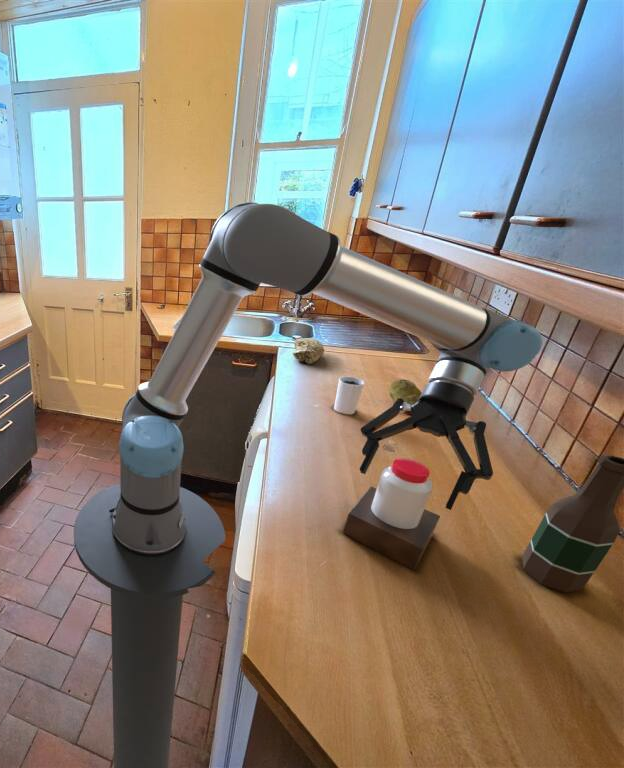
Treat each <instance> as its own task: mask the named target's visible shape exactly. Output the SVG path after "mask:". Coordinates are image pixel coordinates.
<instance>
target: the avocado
mask: <svg viewBox="0 0 624 768" xmlns="http://www.w3.org/2000/svg"><path fill="white" fill-rule="evenodd" d="M422 392H423V391H422V390H420V389H419V388H418V387H417V385H416V384H415V383H414V382H413V381H411V380H409V379H397V380H394V381H393V382H392V383H391V384H390V387H389V396H390V398H391V399H392V401H393V404H394V403H395V401H396V400H397V399H398V398H402V399H403V400H404V402H406V403H409V404H411V405H414V404H416V403H417V402H418V400H419V398H420V396H421V394H422ZM404 413H406V414H410V415H412V414H411V411H405V412H404Z"/></svg>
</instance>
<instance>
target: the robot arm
mask: <svg viewBox="0 0 624 768" xmlns="http://www.w3.org/2000/svg"><path fill="white" fill-rule="evenodd" d="M209 236H210V237H209V245H208V246H207V248H206V251H205V253H204V254H203V256H202V259H201V261H200V263H199V265H198V267H199V271H200V274H201V278H200V281H199V283H198V285H197V287H196V289H195V290H194V293H193V295H192V296H191V299H190V301H189V302H188V305H187V307H186V308H185V311H184V313H183V315H182V317H181V318H180V320H179V323H178V324H177V326H176V328H175V330H174V332H173V334H172V336H171V338H170V340H169V342H168V343H167V345H166V348H165V349H164V352H163V354H162V356H161V358H160V360H159V361H158V364H157V366H156V368H155V370H154V371H153V374H152V375H151V377H150V380H149V381H145V382H142V383H140V385H138V388H137V390H136V391H135V393H134V394H133V395H131V396H130V397H129V399H128V400H127V401H126V402H125V403H126V404H125V405H124V407H123V409H122V415H121V424H122V427H121V433H120V438H119V441H118V442H119V443H118V450H119V455H120V457H119V459H120V460H119V464H120V467H119V468H120V469H119V470H120V474H119V475H120V480H119V481H120V483H119V484H120V489H121V496H120V498H119V501H118V503H117V506H116V507H115V508H113V509H110V510H109V511H110V513H112V512H114V513H113V517H112V532H113V535H114V538H115V539H116V541H117V542H118V543H119V544H120V545H121V546H122V547H123V548H125V549H126V550H128V551H130V552H132V553H134V554H137V555H141V556H150V557H153V556H161V555H165V554H168V553H170V552H172V551H174V550H175V549H177V548H178V547H179V546H180V545H181V544H182V542H183V541H184V538H185V535H186V520H185V515H184V512H182V507H181V504H180V501H179V493H180V487H181V477H182V464H183V463H182V462H183V456H184V453H185V451H184V449H185V446H184V440H183V434H182V432H181V430H180V426H181V424H182V422H183V420H184V418H185V416H186V415H187V413H188V412H189V405H188V404H187V401H186V400H187V398H188V397H189V394H191V391H192V389H193V388H194V385H195V384H196V382H197V381H198V379H199V377H200V375H201V374H202V372H203V370H204V368H205V366H206V364H207V363H208V362H209V360H210V358H211V355H212V354H213V352H214V351H215V349H216V347H217V345H218V343H219V341H220V340H221V338H222V336H223V334H224V332H225V331H226V329H227V327H228V325H229V324H230V322H231V320H232V318H233V316H234V314H235V313H236V311H237V309H238V308H239V306H240V304H241V302H242V300H243V299H244V298H245V297H246V296H250V295H253V294H255V293H257V290H259V287H260V286H261V284H265V285H268V286H271V287H275V288H279V289H282V290H285V291H288V292H290V293H292V294H295V295H297V296H300V297H306V296H308V295H311V294H313V295H316V296H318V297H321V298H323V299H326V300H328V301H330V302H333V303H335V304H337V305H340V306H343V307H345V308H348V309H349V310H352V311H354V312H357V313H359V314H361V315H364V316H366V317H369V318H371V319H374V320H375V321H379V322H381V323H383V324H386V325H389V326H391V327H393V328H396V329H398V330H400V331H403V332H406V333H408V334H411V335H413V336H415V337H417V338H420V339H423V340H424V341H427V342H428V343H430V344H431V345H432V346H433V347H434V348H435V349H437V351H438V352H440V354H439V357H438V359H437V361H436V363H435V365H434V367H433V369H432V371H431V373H430V375H429V377H428V380H427V383H426V384H425V385H424V388H423V390H422V391H421V392H422V394H421V396H420V398H419V400H418V402H417V403H416V404H414V405H411V404H409V403H406V402H404V400H403V399H402V398H398V399H397V400H396V401H395V403H394V402H393V404H392V405H391V406H390V407H389V408H387V410H385V411H383V412H382V413H380V414H379V415H377V416H376V417H375V418H373V419H372V420H370V421H369V422H367V423H366V424H364V425H363V426H361V427H360V433H361V436H363V437H364V438H366V441H365V443H364V444H363V447H362V449H361V454H362V455H363V456H364V459H363V460H362V463H361V465H360V466H359V471H360V473H361V474H363V475H366V473H368V470H369V467H370V466H371V464H372V461H373V460H374V457H375V455H376V453H377V451H378V449H379V448H380V442H381V441H384V440H386V439H388V438H392V437H395V436H397V435H398V434H399V435H400V434H402V433H404V432H406V431H412V430H415V429H418V430H419V432H421V433H424V434H425V433H426V434H431V435H433V436H434V437H437V438H440V437H445V438H446V440H447V441H448V443H449V444H450V446H451V448H452V450H453V451H454V454H455V455H456V457H457V459H458V461H459V463H460V465H461V467H462V469H463V470H464V471H463V470H461V472H460V473H459V476H458V478H457V480H456V482H455V485H454V487H453V489H452V491H451V493H450V495H449V497H448V500H447V502H446V503H445V509H447V510H450V511H452V509H453V507H454V504H455V502H456V501H457V498H458V496H459V494H460V493H461V494H463V495H468V494H469V493H470V491H471V489H472V486H473V484H474V482H475V480H477V479H482V480H485V481H490V480H491V479H492V477H493V475H494V470H493V466H492V462H491V458H490V454H489V450H488V444H487V441H486V436H485V431H486V428H487V423H486V422H485V421H483V420H479V421H477V422H475V421H471V420H467V415H468V413H469V411H470V409H471V408H472V407H471V406H472V405H473V402H474V400H475V396H477V394H478V391H479V390H480V387H481V386H482V383H483V382H484V379H485V376H486V374H487V371H488V369H489V368H490V369H492V370H493V371H494V370H495V371H497V372H503V373H505V372H513V371H518V370H520V369H522V368H524V367H527V366H528V365H529V364H531V362H533V360H534V359H535V358H536V356H538V355H539V354H540V351H541V349H542V345H543V337H542V334H541V333H540V331H539V330H538V329H536V328H535V327H533V326H531V325H528V324H526V323H524V322H523V321H521V320H518V319H516V320H515V319H512V318H508V317H506V316H504V315H501V314H499V313H496V312H495V311H492V310H489V309H487V308H485V307H481V305H479V304H476V303H473V302H471V301H470V300H469V301H468V300H466V299H465V298H463V297H460V296H457V295H455V294H453V293H450V292H448V291H446V290H445V289H444V290H443V289H441V288H439V287H436V286H434V285H431V284H429V283H427V282H425V281H422V279H421V280H420V279H418V278H416V277H413V276H411V275H409V274H406V273H405V272H402V271H400V270H398V269H395V268H392V267H390V266H388V265H386V264H384V263H381V262H379V261H378V260H377V261H376V260H375V259H372V258H370V257H368V256H365V255H363V254H361V253H359V252H356V251H354V250H352V249H350V248H347V247H345V246H342V245H341V239H340V237H339V236H338V235H336V234H335V233H332V232H329V231H327V230H325V229H323V228H321V227H319V226H317V225H316V224H313V223H312V222H311V221H308V220H307V219H305V218H302V217H301V216H299V215H298V214H296V213H295V212H294V211H292V210H289V209H287V208H286V207H284V206H281V205H277V204H273V203H258V202H244V203H238V204H236V205H234V206H232V207H230V208H229V209H228V210H225V211H224V212H223V213H222V214H221V215H220V216H219V217H218V219H216V221H215V222H214V225H213V226H212V229H211V232H210V235H209ZM405 411H411V414H410V416H409V417H407V418H405V419H403V420H401V421H398V422H396V423H393V424H390V425H389V426H386V427H383V426H384V425H386V424H387V423H389V422H390V421H392V420H393V419H395V418H396V417H398V416H399V414H404V413H406V412H405ZM381 427H383V428H381ZM380 428H381V429H380ZM465 428H466V429H467V430H468V433H469V434H470V435H473V444H474V449H475V452H476V457H477V461H478V466H479V468H477V467H476V465H475V464H474V461H473V459H472V458H471V456H470V454H469V452H468V451H467V449H466V447H465V445H464V443H463V442H462V440H461V437H460V434H459V433H458V432H459V431H461V430H462V429H465Z"/></svg>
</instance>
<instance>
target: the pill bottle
mask: <svg viewBox="0 0 624 768" xmlns="http://www.w3.org/2000/svg"><path fill="white" fill-rule="evenodd" d="M430 474H431V471H430V469H429V468H428V467H427V466H426V465H425V464H423V463H421V462H420V461H417V460H414V459H410V458H406V457H405V458H404V457H399V458H396V459H394V460H393V461H392V465H389V466H387V467H384V468H383V469H382V472H381V474H380V477H379V480H378V483H377V487H376V493H375V496H374V499H373V502H372V505H371V509H372V512H373V513H374V514H375V516H376V517H378V518H379V519H380V520H382V521H383V522H385V523H387V524H389V525H391V526H394V527H397V528H402V529H412V528H415V527H417V526H418V525H419V522H420V520H421V517H422V515H423V512H424V510H426V508H427V507H426V506H427V504H428V502H429V500H430V497H431V494H432V492H433V489H434V484H433V482H432V481H431V479H429V476H430Z"/></svg>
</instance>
